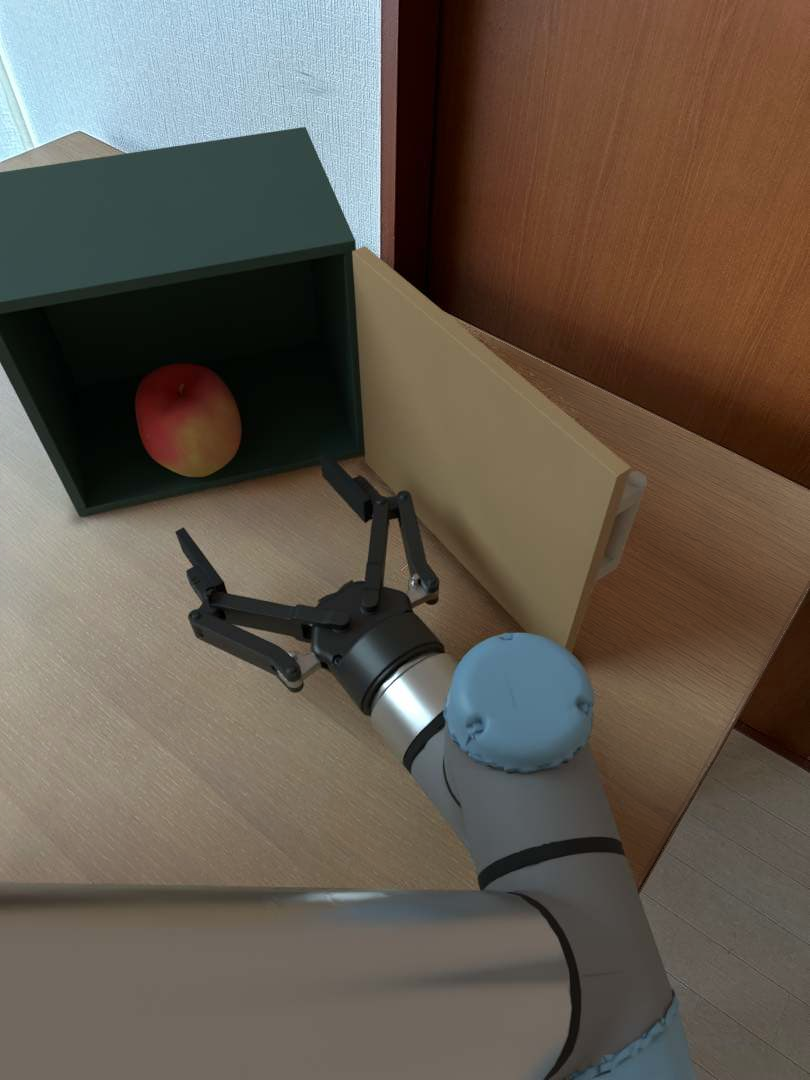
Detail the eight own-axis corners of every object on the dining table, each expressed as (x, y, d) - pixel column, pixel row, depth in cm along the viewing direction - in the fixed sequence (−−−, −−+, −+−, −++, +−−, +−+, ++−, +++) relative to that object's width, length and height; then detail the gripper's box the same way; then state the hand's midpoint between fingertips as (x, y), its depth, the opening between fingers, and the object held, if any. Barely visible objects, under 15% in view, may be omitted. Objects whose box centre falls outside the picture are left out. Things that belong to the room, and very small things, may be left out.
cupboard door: (422, 431, 84) (425, 219, 65) (620, 623, 71) (698, 425, 52) (365, 462, 82) (351, 251, 63) (559, 667, 68) (617, 476, 49)
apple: (137, 492, 78) (106, 416, 70) (169, 420, 84) (143, 342, 76) (236, 503, 77) (216, 427, 69) (261, 430, 83) (245, 352, 75)
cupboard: (368, 454, 82) (355, 240, 63) (79, 517, 78) (-29, 306, 59) (327, 340, 93) (305, 126, 74) (70, 390, 88) (-25, 175, 69)
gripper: (264, 807, 58) (130, 600, 68) (533, 622, 66) (379, 463, 77) (247, 766, 52) (103, 546, 62) (546, 568, 60) (376, 404, 71)
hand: (256, 500), depth 69 cm, fingers open, 13 cm apart
